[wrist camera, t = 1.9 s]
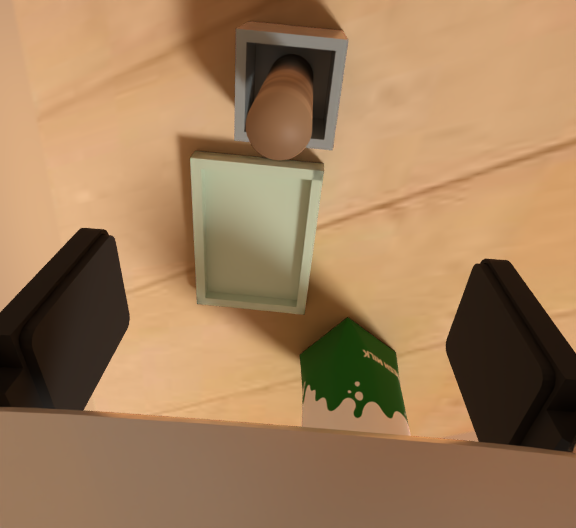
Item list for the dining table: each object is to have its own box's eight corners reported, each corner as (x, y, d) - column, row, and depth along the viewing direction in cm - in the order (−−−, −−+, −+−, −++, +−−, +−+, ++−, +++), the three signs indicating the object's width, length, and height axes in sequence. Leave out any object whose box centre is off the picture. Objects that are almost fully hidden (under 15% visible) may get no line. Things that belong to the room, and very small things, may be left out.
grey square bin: (248, 21, 28) (235, 28, 23) (343, 30, 28) (348, 39, 23) (246, 117, 31) (234, 140, 27) (330, 125, 31) (332, 150, 27)
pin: (271, 51, 28) (246, 89, 18) (315, 56, 28) (316, 96, 18) (268, 98, 30) (244, 157, 20) (310, 103, 30) (308, 163, 20)
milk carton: (408, 351, 43) (466, 581, 27) (346, 393, 47) (362, 616, 31) (347, 305, 41) (369, 531, 24) (286, 355, 45) (268, 577, 28)
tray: (195, 150, 33) (190, 157, 32) (323, 163, 33) (323, 171, 32) (200, 293, 41) (196, 303, 39) (304, 303, 41) (304, 314, 39)
